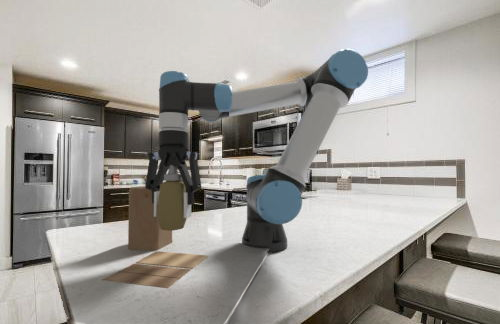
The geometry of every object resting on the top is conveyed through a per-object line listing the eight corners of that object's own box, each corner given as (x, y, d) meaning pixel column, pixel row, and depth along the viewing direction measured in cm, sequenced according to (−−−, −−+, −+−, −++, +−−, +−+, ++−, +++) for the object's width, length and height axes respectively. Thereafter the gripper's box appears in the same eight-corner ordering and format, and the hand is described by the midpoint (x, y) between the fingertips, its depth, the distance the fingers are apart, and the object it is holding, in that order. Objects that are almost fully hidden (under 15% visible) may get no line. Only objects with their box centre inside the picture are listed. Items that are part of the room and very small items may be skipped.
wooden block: (156, 255, 76) (157, 187, 76) (126, 253, 78) (127, 187, 78) (173, 246, 85) (173, 185, 86) (146, 244, 87) (146, 185, 88)
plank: (207, 261, 70) (207, 255, 70) (192, 275, 62) (192, 268, 62) (156, 256, 74) (156, 251, 74) (134, 269, 66) (134, 262, 66)
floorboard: (191, 275, 61) (191, 269, 61) (167, 295, 51) (167, 287, 51) (133, 269, 65) (133, 263, 65) (101, 286, 55) (101, 279, 55)
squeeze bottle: (160, 225, 72) (161, 161, 73) (190, 225, 73) (190, 161, 73) (152, 232, 64) (153, 160, 65) (185, 231, 65) (186, 160, 65)
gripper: (215, 131, 70) (214, 215, 69) (148, 134, 75) (147, 212, 75) (203, 127, 63) (202, 221, 62) (130, 130, 68) (129, 217, 67)
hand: (172, 216), depth 68 cm, fingers closed on squeeze bottle, 8 cm apart
